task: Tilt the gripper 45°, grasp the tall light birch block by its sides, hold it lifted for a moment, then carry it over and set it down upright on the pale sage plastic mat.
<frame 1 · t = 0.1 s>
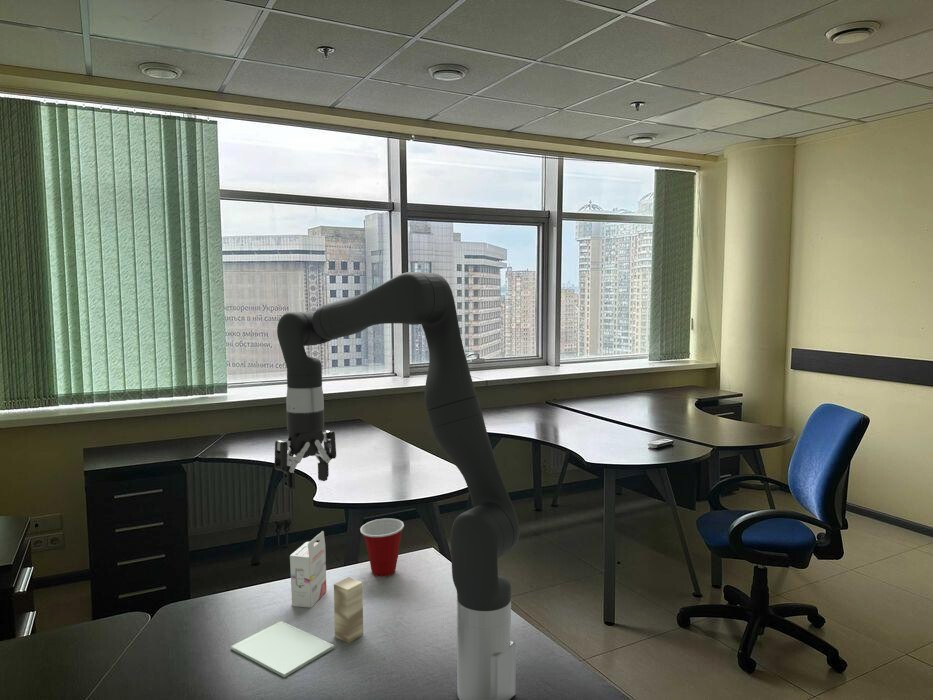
hand: (307, 484, 136), 29 cm above the table, tool pointing down, fingers open, 8 cm apart
plastic cup: (382, 572, 161), on the table
birch block: (349, 635, 132), on the table
ink cartridge box: (309, 599, 148), on the table
sage mat: (282, 648, 127), on the table
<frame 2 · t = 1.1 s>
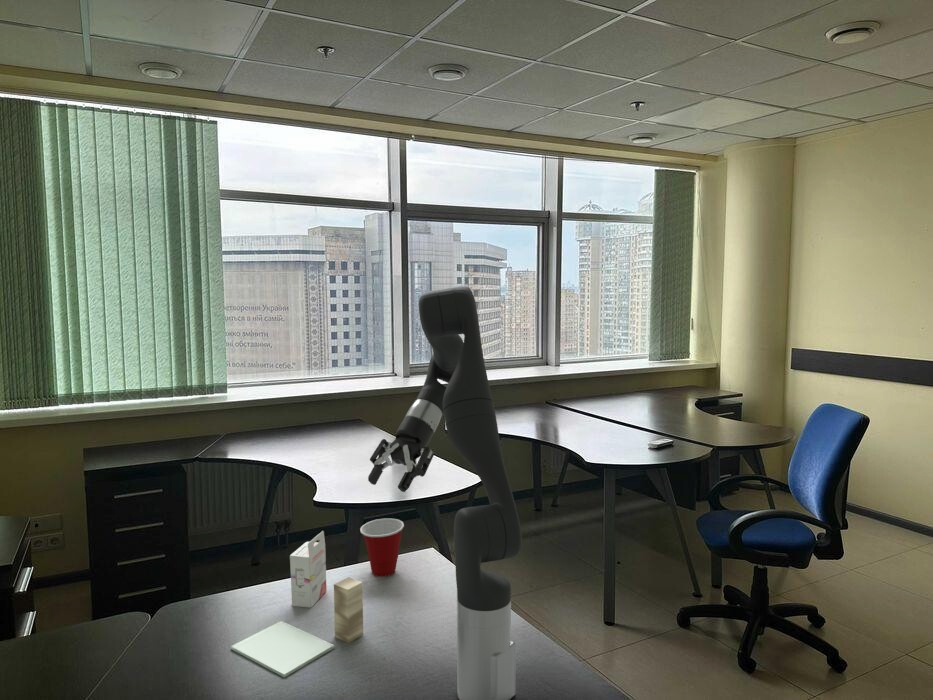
hand: (385, 486, 138), 28 cm above the table, tool tilted 45°, fingers open, 8 cm apart
nothing on the table moved.
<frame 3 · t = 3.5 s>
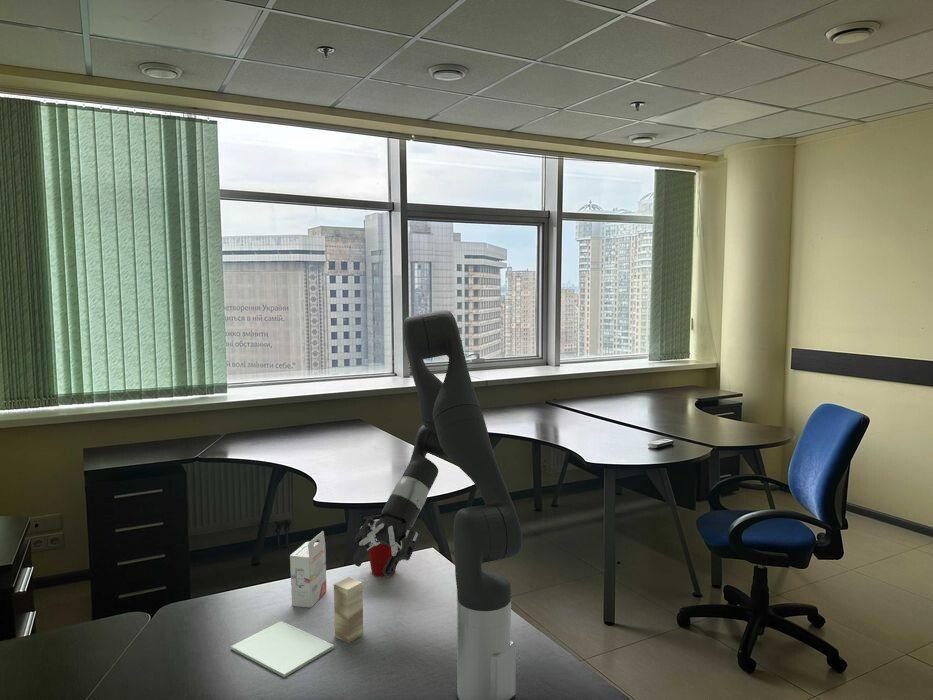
hand: (370, 569, 136), 12 cm above the table, tool tilted 45°, fingers open, 8 cm apart
nothing on the table moved.
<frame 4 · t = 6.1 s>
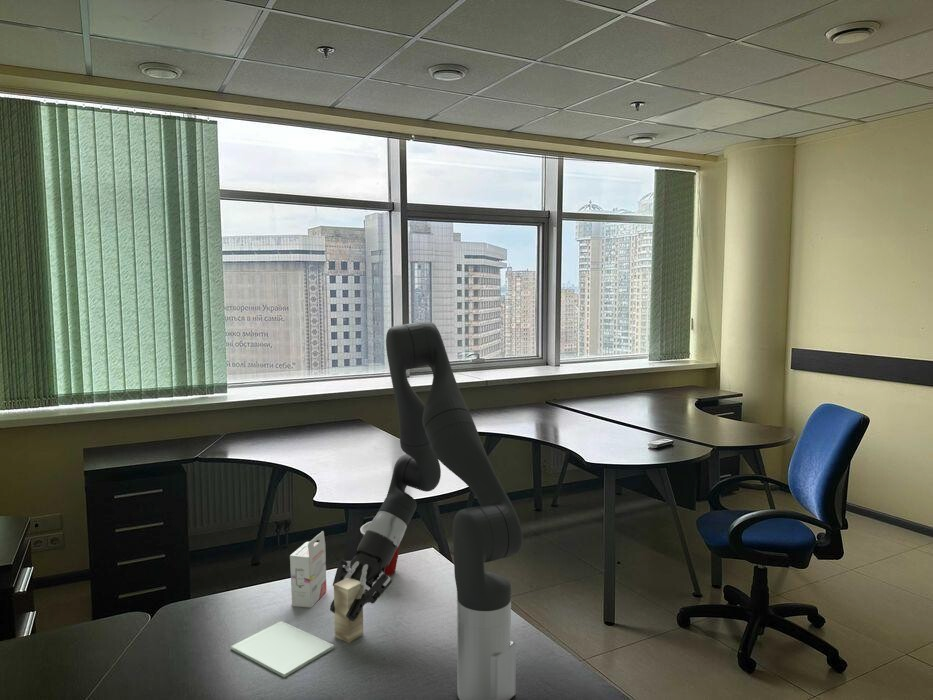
hand: (341, 615, 130), 5 cm above the table, tool tilted 45°, fingers closed on birch block, 4 cm apart
birch block: (349, 635, 132), on the table, touching gripper
everything else where it was.
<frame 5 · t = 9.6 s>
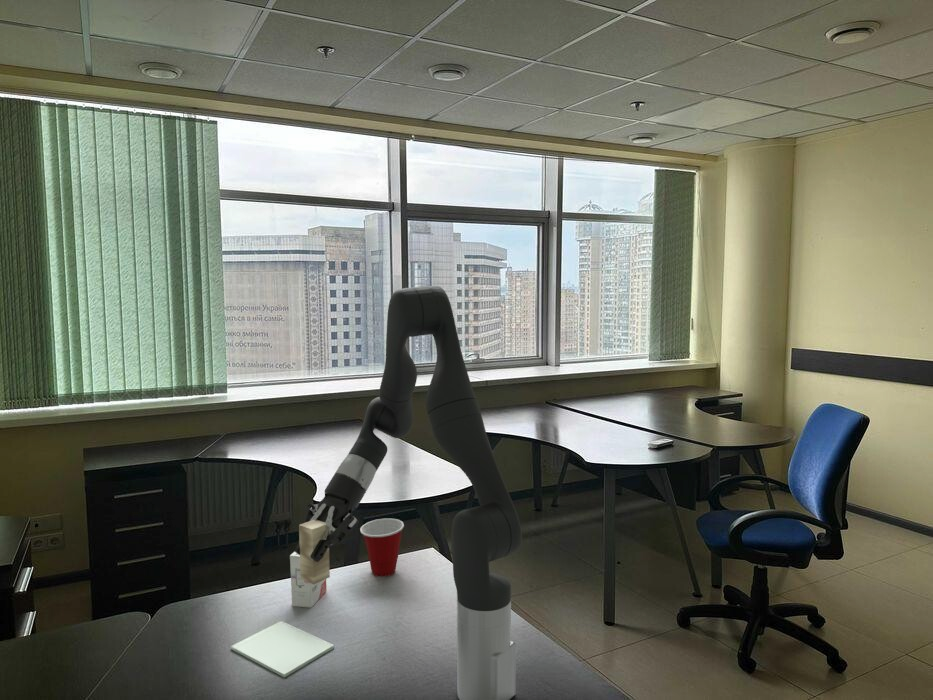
hand: (306, 556, 126), 18 cm above the table, tool tilted 45°, fingers closed on birch block, 4 cm apart
birch block: (315, 578, 129), point 13 cm above the table, touching gripper
everything else where it was.
when the fingers open (7 cm above the table, at t = 13.1 s): birch block drops 1 cm, resting on sage mat.
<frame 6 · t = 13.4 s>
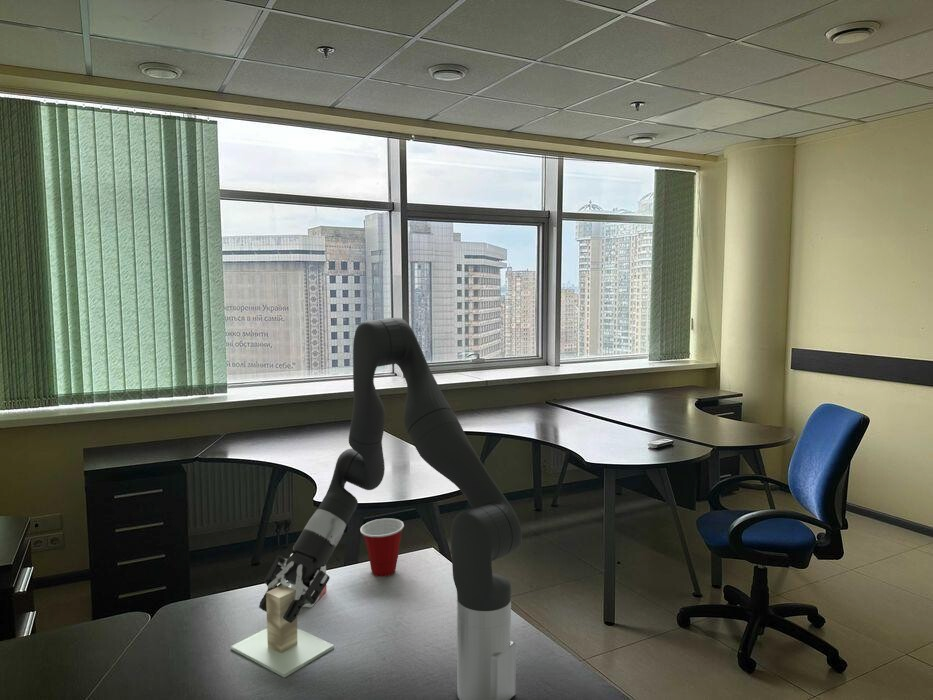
hand: (274, 615, 125), 8 cm above the table, tool tilted 45°, fingers open, 6 cm apart
birch block: (282, 645, 127), point 1 cm above the table, touching sage mat
everything else where it was.
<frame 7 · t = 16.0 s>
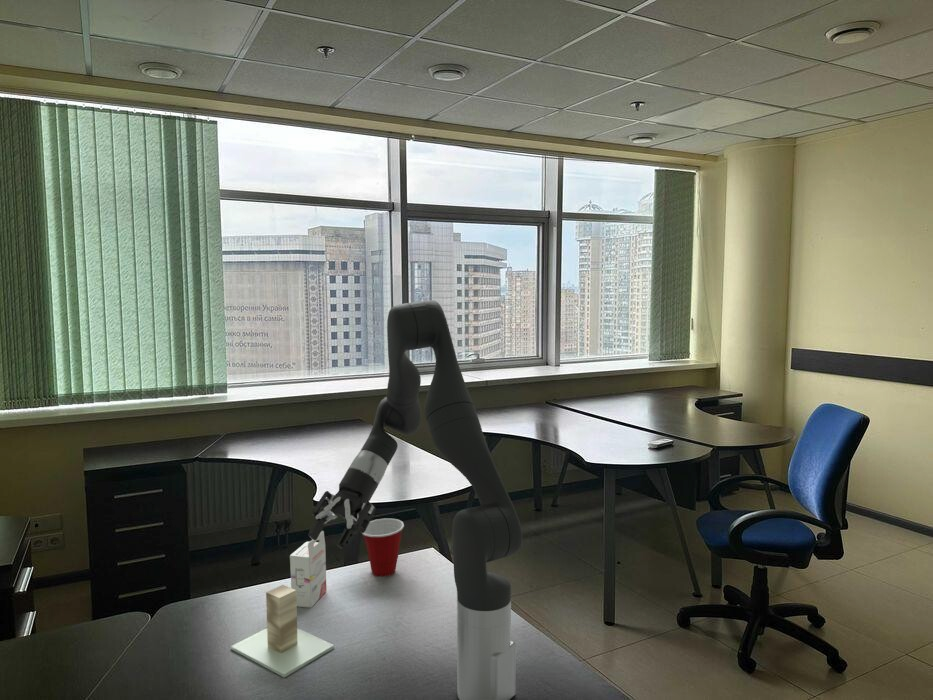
hand: (325, 542, 134), 18 cm above the table, tool tilted 45°, fingers open, 8 cm apart
nothing on the table moved.
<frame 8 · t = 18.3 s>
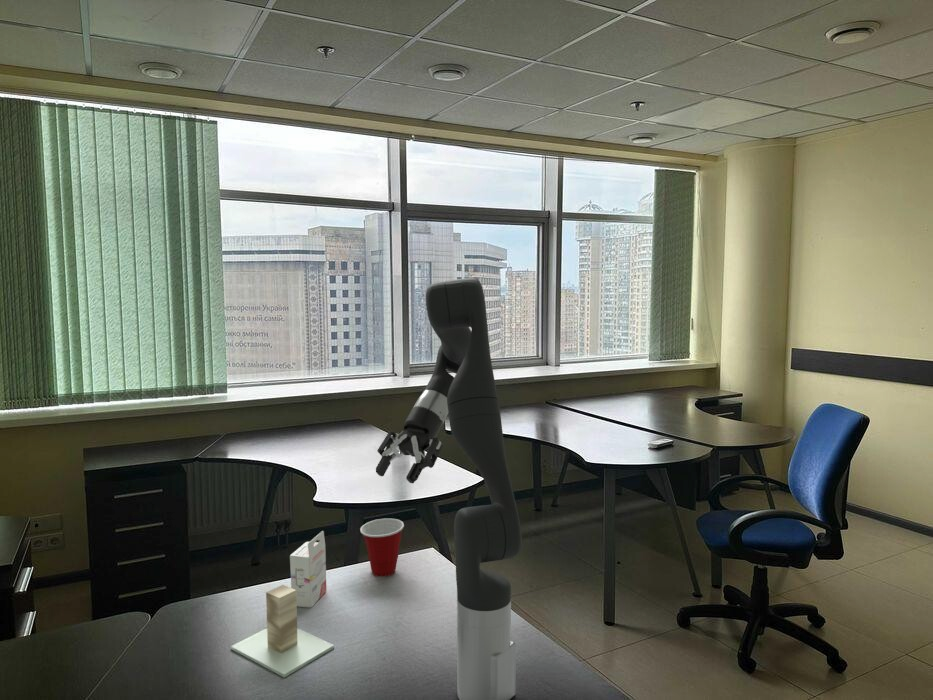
hand: (393, 477, 136), 31 cm above the table, tool tilted 45°, fingers open, 8 cm apart
nothing on the table moved.
at the end: birch block inside the target area on the sage mat (0.1 cm from its centre), point 0.6 cm above the sage mat's base; birch block tilted 0°; the gripper is holding nothing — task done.
